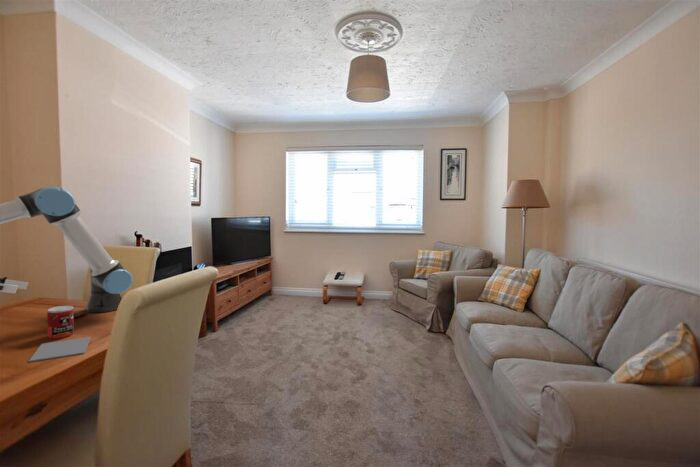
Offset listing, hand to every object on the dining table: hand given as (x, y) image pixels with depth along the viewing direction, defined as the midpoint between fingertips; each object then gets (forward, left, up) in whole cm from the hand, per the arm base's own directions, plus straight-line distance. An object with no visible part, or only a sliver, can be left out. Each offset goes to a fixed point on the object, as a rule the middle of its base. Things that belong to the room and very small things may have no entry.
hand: (22, 287), depth 122 cm
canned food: (-8, +8, -20) cm, 23 cm away
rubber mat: (-3, +24, -20) cm, 31 cm away
